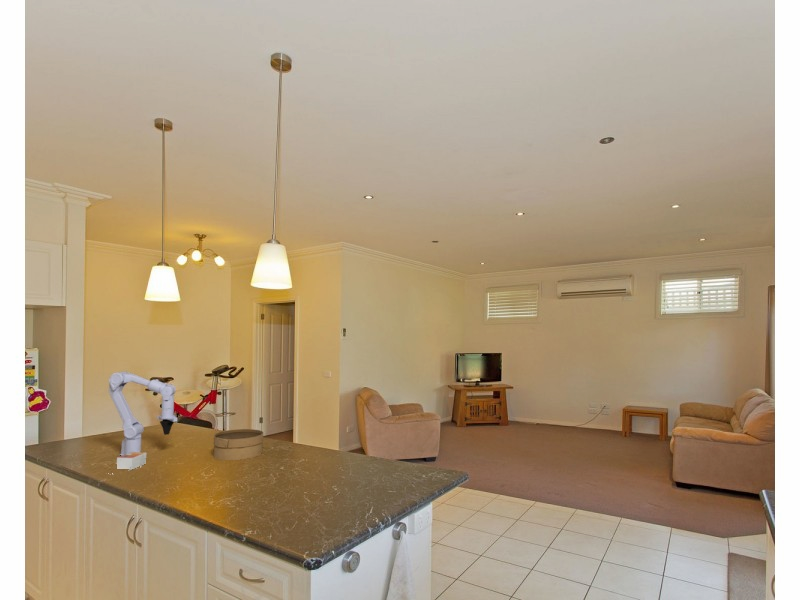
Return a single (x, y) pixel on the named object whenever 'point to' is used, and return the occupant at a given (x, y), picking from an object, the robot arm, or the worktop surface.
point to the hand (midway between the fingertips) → (166, 434)
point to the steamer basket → (238, 444)
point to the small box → (131, 460)
